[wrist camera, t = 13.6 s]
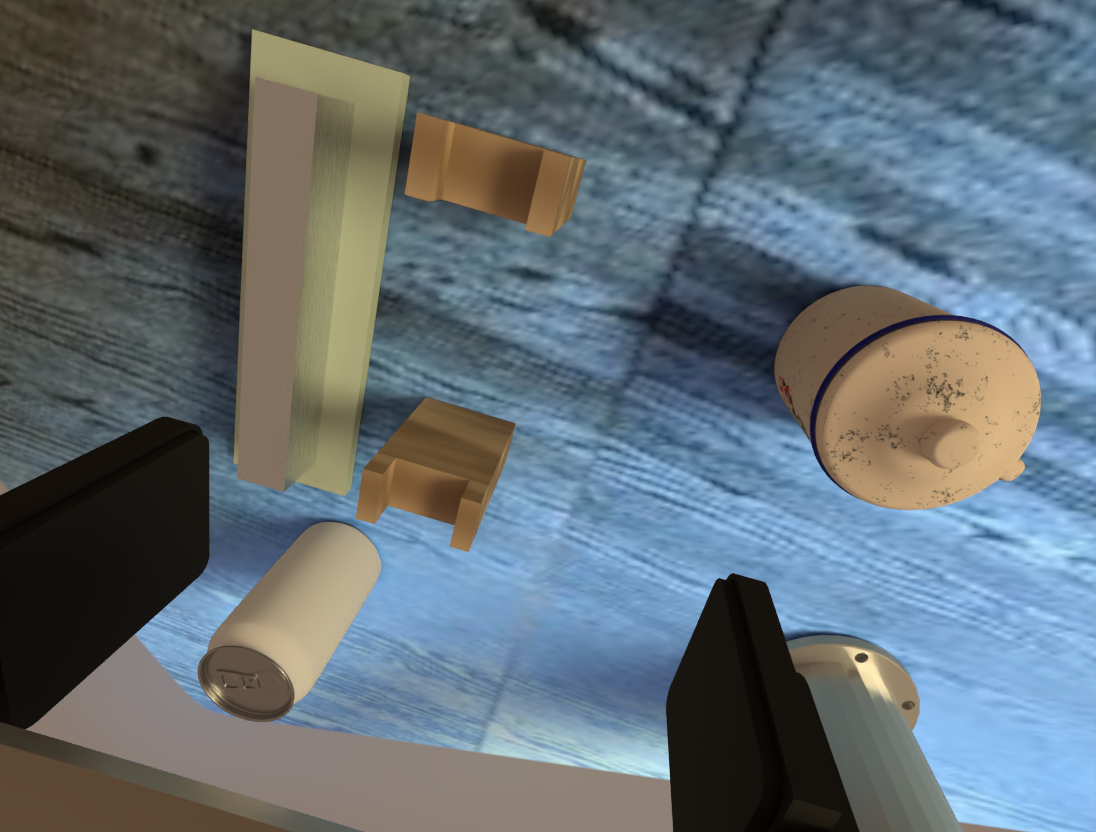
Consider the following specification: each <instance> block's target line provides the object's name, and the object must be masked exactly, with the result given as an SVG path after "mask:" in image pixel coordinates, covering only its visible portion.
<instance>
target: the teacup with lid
mask: <svg viewBox="0 0 1096 832" xmlns="http://www.w3.org/2000/svg"><path fill="white" fill-rule="evenodd" d="M774 372H775V381H776V385H777V389H778V392H779V394H780V396H781V398H782V400H783V402H784V403H785V405H786V406H787V408H788V409H789V411H790V412H791V414H792V415H793V417H794V418H795V420H796V421H797V423H798V424H799V426H800V427H801V429H802V430H803V432H804V433H805V434H806V436H807V437H808V439H809V440H810V442H811V444H812V448H813V451H814V454H815V456H816V459H817V461H818V463H819V464H820V466H821V468H822V469H823V471H824V472H825V473H826V475H827V476H828V477H829V478H830V479H831V480H832V481H833V482H834V483H835V484H836V485H837V486H839V487H840V488H841V489H842V490H844V491H845V492H847V493H849V494H850V495H852V496H854V497H856V498H858V499H861V500H863V501H865V502H868V503H870V504H874V505H877V506H881V507H885V508H892V509H901V510H921V509H930V508H935V507H941V506H944V505H948V504H952V503H955V502H958V501H960V500H963V499H965V498H968V497H970V496H972V495H974V494H976V493H978V492H980V491H981V490H983V489H985V488H986V487H988V486H989V485H991V484H992V483H994V482H995V481H996V480H998V479H1000V480H1003V481H1012V480H1014V479H1015V478H1016V477H1018V476H1019V475H1020V474H1021V473H1022V472H1023V471H1024V469H1025V465H1024V463H1023V461H1022V460H1021V459H1020V456H1021V455H1022V454H1023V452H1024V451H1025V449H1026V448H1027V446H1028V444H1029V442H1030V441H1031V439H1032V436H1033V434H1034V432H1035V429H1036V426H1037V423H1038V419H1039V414H1040V405H1041V393H1040V386H1039V381H1038V377H1037V374H1036V372H1035V369H1034V367H1033V365H1032V363H1031V362H1030V360H1029V358H1028V356H1027V355H1026V353H1025V352H1024V350H1023V349H1022V348H1021V347H1020V345H1019V344H1018V343H1017V342H1016V341H1015V340H1013V339H1012V338H1011V337H1010V336H1009V335H1007V334H1006V333H1005V332H1003V331H1001V330H1000V329H998V328H996V327H994V326H992V325H990V324H988V323H985V322H983V321H980V320H976V319H973V318H968V317H963V316H955V315H952V314H950V313H947V312H945V311H943V310H941V309H938V308H936V307H934V306H932V305H929V304H927V303H925V302H923V301H920V300H918V299H916V298H914V297H911V296H909V295H907V294H905V293H902V292H900V291H898V290H894V289H891V288H887V287H882V286H855V287H850V288H845V289H842V290H838V291H836V292H833V293H831V294H828V295H826V296H824V297H822V298H821V299H819V300H817V301H815V302H814V303H813V304H811V305H810V306H808V307H807V308H806V309H805V310H804V311H802V312H801V313H800V314H799V315H798V316H797V317H796V319H795V320H794V321H793V322H792V323H791V325H790V326H789V327H788V329H787V330H786V332H785V334H784V335H783V337H782V340H781V342H780V344H779V347H778V350H777V354H776V358H775V370H774Z"/></svg>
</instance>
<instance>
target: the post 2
mask: <svg viewBox="0 0 1096 832" xmlns="http://www.w3.org/2000/svg"><path fill="white" fill-rule="evenodd" d="M514 428H515V423H512V422H508V421H505V420H502V419H498V418H495V417H492V416H488V415H485V414H481V413H478V412H475V411H471V410H468V409H465V408H461V407H458V406H454V405H451V404H448V403H444V402H441V401H437V400H434V399H431V398H427V397H426V398H425V399H424V400H423V401H422V402H421V404H420V405H419V406H418V407H417V408H416V409H415V410H414V412H413V413H412V414H411V415H410V416H409V417H408V418H407V420H406V421H405V422H404V423H403V424H402V425H401V426H400V428H399V429H398V430H397V431H396V432H395V433H394V434H393V436H392V437H391V438H390V439H389V440H388V441H387V442H386V444H385V445H384V446H383V447H382V448H381V449H380V450H379V452H378V453H377V454H376V455H375V456H374V457H373V458H372V459H371V461H370V462H369V463H368V464H367V465H366V466H365V467H364V469H363V474H362V480H361V487H360V494H359V500H358V507H357V514H356V519H359V520H363V521H366V522H370V523H373V524H375V523H376V521H377V520H378V518H379V517H380V516H381V514H382V513H383V511H384V510H385V509H386V507H387V506H392V507H395V508H398V509H402V510H405V511H408V512H412V513H415V514H419V515H422V516H425V517H429V518H432V519H435V520H439V521H442V522H445V523H449V524H452V525H455V526H454V531H453V535H452V539H451V543H450V547H453V548H457V549H460V550H463V551H467V552H469V550H470V547H471V545H472V542H473V540H474V538H475V535H476V533H477V530H478V528H479V525H480V523H481V520H482V518H483V516H484V513H485V511H486V508H487V506H488V503H489V501H490V499H491V496H492V494H493V491H494V489H495V486H496V484H497V482H498V479H499V477H500V474H501V472H502V469H503V467H504V465H505V462H506V458H507V454H508V450H509V447H510V443H511V439H512V435H513V432H514Z"/></svg>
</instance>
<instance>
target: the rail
mask: <svg viewBox="0 0 1096 832" xmlns="http://www.w3.org/2000/svg"><path fill="white" fill-rule="evenodd" d="M354 109H355V104H354V103H351V102H348V101H344V100H341V99H337V98H334V97H330V96H327V95H323V94H320V93H317V92H313V91H310V90H306V89H303V88H299V87H295V86H291V85H287V84H283V83H279V82H275V81H271V80H267V79H263V78H259V77H255V90H254V112H253V135H252V157H251V179H250V201H249V224H248V246H247V268H246V290H245V313H244V335H243V357H242V379H241V402H240V424H239V446H238V468H237V478H238V479H242V480H245V481H249V482H252V483H255V484H259V485H262V486H265V487H269V488H272V489H276V490H279V491H282V492H285V491H286V490H287V489H288V488H289V487H290V486H291V485H292V484H293V483H294V482H295V481H296V480H297V479H298V478H299V477H300V476H301V475H303V474H304V473H305V472H306V471H307V470H308V469H309V468H310V467H311V466H312V465H313V464H314V463H315V462H316V456H317V447H318V438H319V429H320V420H321V411H322V402H323V392H324V383H325V374H326V365H327V356H328V347H329V338H330V328H331V319H332V310H333V301H334V292H335V283H336V274H337V264H338V255H339V246H340V237H341V228H342V219H343V210H344V200H345V191H346V182H347V173H348V164H349V155H350V146H351V136H352V127H353V118H354Z"/></svg>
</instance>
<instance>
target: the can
mask: <svg viewBox="0 0 1096 832" xmlns="http://www.w3.org/2000/svg"><path fill="white" fill-rule="evenodd" d="M380 572H381V561H380V558H379V555H378V552H377V550H376V548H375V547H374V545H373V543H372V542H371V540H370V539H369V538H368V537H367V536H366V535H365V534H364V533H362V532H361V531H360V530H358V529H356V528H354V527H352V526H350V525H347V524H344V523H339V522H322V523H317V524H315V525H312V526H311V527H309V528H308V529H306V530H305V531H304V532H303V533H302V534H301V535H300V536H299V537H298V539H297V540H296V541H295V542H294V543H293V544H292V545H291V546H290V547H289V548H288V550H287V551H286V552H285V553H284V554H283V555H282V556H281V557H280V559H279V560H278V561H277V562H276V563H275V564H274V565H273V566H272V568H271V569H270V570H269V571H268V572H267V573H266V574H265V575H264V577H263V578H262V579H261V580H260V581H259V582H258V583H257V584H256V586H255V587H254V588H253V589H252V590H251V591H250V592H249V593H248V595H247V596H246V597H245V598H244V599H243V600H242V601H241V603H240V604H239V605H238V606H237V607H236V608H235V609H234V610H233V612H232V613H231V614H230V615H229V616H228V617H227V619H226V620H225V621H224V622H223V623H222V624H221V626H220V627H219V628H218V629H217V630H216V632H215V633H214V635H213V636H212V638H211V640H210V643H209V646H208V650H207V653H206V654H205V655H204V656H203V657H202V659H201V661H200V663H199V666H198V678H199V682H200V684H201V686H202V688H203V690H204V692H205V693H206V694H207V696H208V697H209V698H210V699H211V700H212V701H213V702H214V703H215V704H216V705H217V706H219V707H220V708H222V709H223V710H225V711H226V712H228V713H230V714H232V715H234V716H236V717H239V718H242V719H245V720H249V721H255V722H268V721H273V720H277V719H279V718H281V717H283V716H284V715H286V714H287V713H288V712H289V711H290V709H291V708H292V706H293V704H295V703H296V702H298V701H299V700H301V699H302V698H303V697H304V696H306V695H307V693H308V692H309V691H310V690H311V688H312V687H313V685H314V684H315V682H316V681H317V679H318V678H319V676H320V674H321V673H322V671H323V669H324V668H325V666H326V665H327V663H328V661H329V660H330V658H331V656H332V655H333V653H334V651H335V650H336V648H337V646H338V645H339V643H340V641H341V640H342V638H343V637H344V635H345V633H346V632H347V630H348V628H349V627H350V625H351V623H352V622H353V620H354V618H355V617H356V615H357V613H358V612H359V610H360V608H361V607H362V605H363V603H364V602H365V600H366V598H367V597H368V595H369V593H370V592H371V590H372V588H373V586H374V585H375V583H376V581H377V579H378V577H379V575H380Z"/></svg>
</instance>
